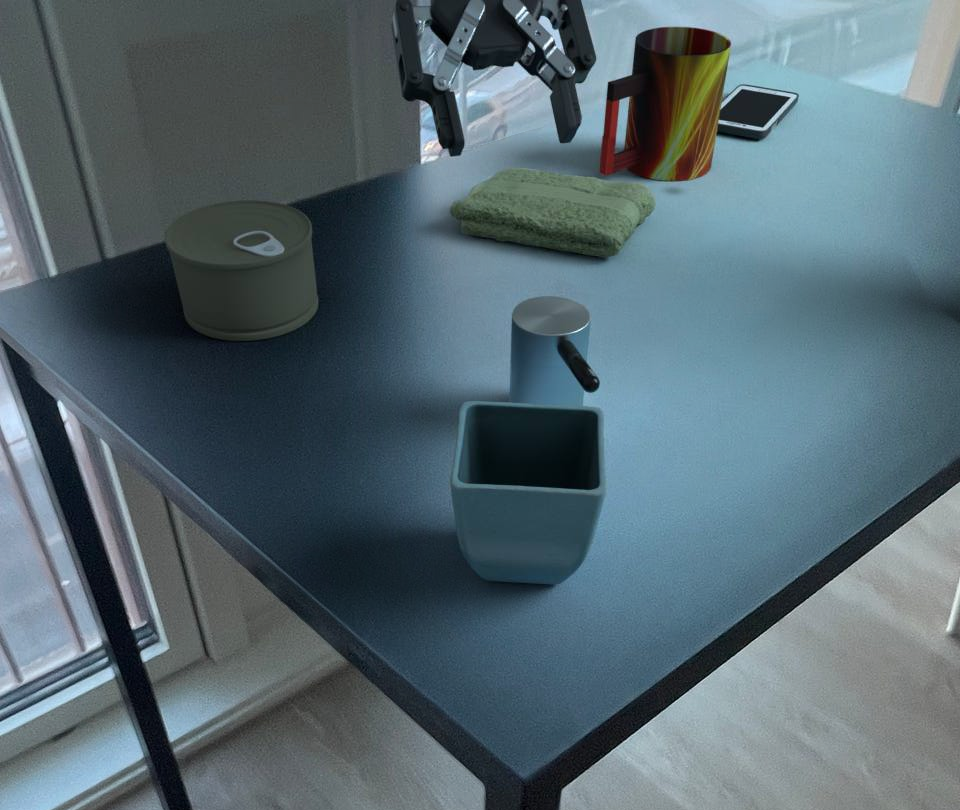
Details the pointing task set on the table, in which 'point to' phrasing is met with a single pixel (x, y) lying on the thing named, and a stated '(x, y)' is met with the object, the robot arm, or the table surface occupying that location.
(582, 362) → the metal cylinder with handle
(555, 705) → the table surface
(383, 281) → the table surface
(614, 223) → the washcloth
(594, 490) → the flower pot
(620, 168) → the mug
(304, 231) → the can
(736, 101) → the cell phone
